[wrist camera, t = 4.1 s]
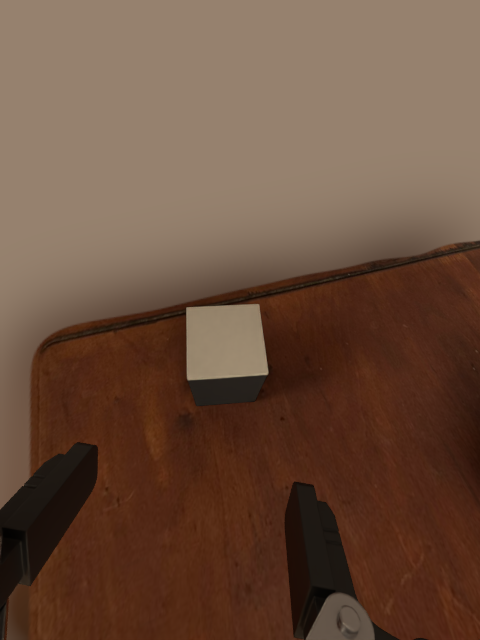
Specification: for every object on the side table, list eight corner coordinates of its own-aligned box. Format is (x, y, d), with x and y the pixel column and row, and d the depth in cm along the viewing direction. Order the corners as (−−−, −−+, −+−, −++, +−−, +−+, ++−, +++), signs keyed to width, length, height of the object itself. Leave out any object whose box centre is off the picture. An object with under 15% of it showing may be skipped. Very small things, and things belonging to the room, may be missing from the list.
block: (196, 406, 25) (186, 379, 18) (195, 351, 27) (186, 307, 20) (255, 401, 25) (268, 373, 18) (248, 347, 27) (259, 303, 20)
